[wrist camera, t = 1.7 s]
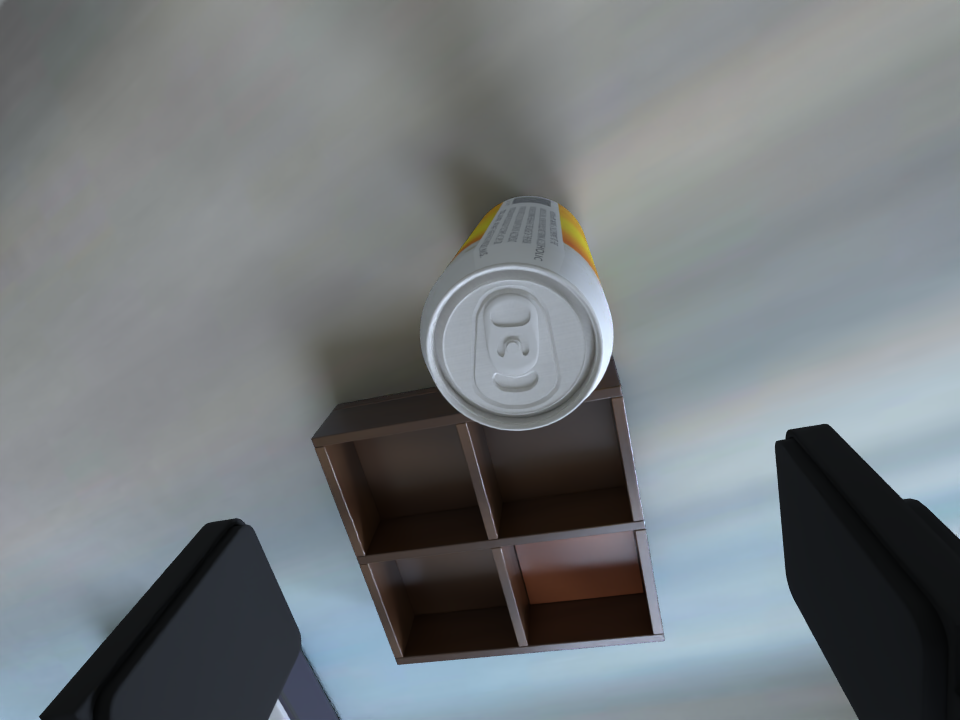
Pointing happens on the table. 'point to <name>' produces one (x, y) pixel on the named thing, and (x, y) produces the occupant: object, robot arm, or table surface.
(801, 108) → the table surface
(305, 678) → the calculator
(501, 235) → the beer can
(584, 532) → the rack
